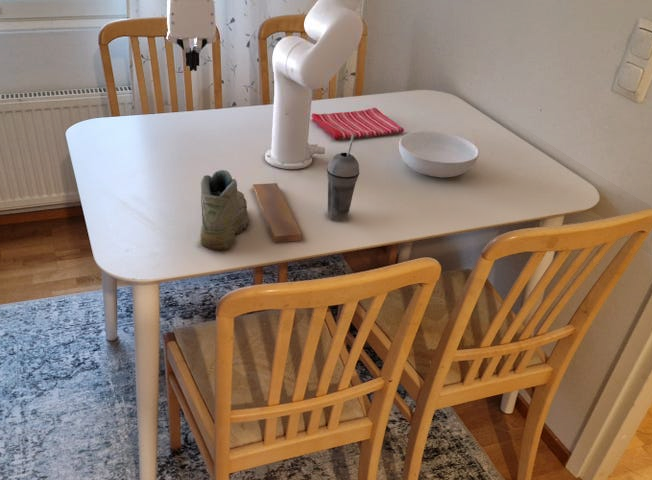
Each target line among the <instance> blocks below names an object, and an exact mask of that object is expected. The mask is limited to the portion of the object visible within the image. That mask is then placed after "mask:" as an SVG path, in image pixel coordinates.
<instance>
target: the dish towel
mask: <svg viewBox="0 0 652 480" xmlns="http://www.w3.org/2000/svg"><path fill="white" fill-rule="evenodd" d="M311 118H312V119H311V121H312V122H313V123H315V125H317V126H318V127H319V128H320V129H322V130H323V131H324V132H325V133H326V134H327V135H328V136H329V137H330V138H331V139H332V140H334V141H338V140H348V139H350V140H351V137H352V135H354V139H360V138H368V137H377V136H378V137H379V136H388V135H394V134H398V133H399V134H400V133H403V132H404V131H405V129H404V127H402V126H400V125H399V124H398V123H396V122H395V121H393V120H392V119H390V117H388V116H386V115H385V114H384V113H382V112H381V111H380V110H379V109H378V108H377V107H372V108H368V109H362V110H353V111H343V112H331V113H312V114H311Z"/></svg>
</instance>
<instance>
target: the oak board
mask: <svg viewBox="0 0 652 480" xmlns="http://www.w3.org/2000/svg"><path fill="white" fill-rule="evenodd" d="M252 193H253V195H254V197H255V200H256V202H257V205H258V207H259V210H260V212H261V214H262V216H263V218H264V221H265V224H266V226H267V228H268V231H269V233H270V235H271V238H272V240H273V242H274V243H275V244H276V243H288V242H301V241H302V240H303V239H302V238H303V233H302V232H301V230H300V227H299V225H298V224H297V223H298V222H297V221H296V219H295V217H294V215H293V213H292V211H291V209H290V206H289V205H288V203H287V202H286V199H285V197H284V195H283V193H282V191H281V189H280V186H279V185H278V183H277V182H272V183H253V184H252Z"/></svg>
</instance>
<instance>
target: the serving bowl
mask: <svg viewBox="0 0 652 480" xmlns="http://www.w3.org/2000/svg"><path fill="white" fill-rule="evenodd" d="M398 142H399V143H398V148H399V149H398V151H399V155H400V157H401V159H402V160H403V162H404V163H405V165H407V166H408V167H409V168H410V169H412V170H413V171H415V172H417V173H419V174H422V175H426V176H430V177H435V178H436V177H437V178H452V177H457V176H460V175H463V174H466V173H467V172H468V171H470V170H471V169H472V168H473V166H474V165H475V164H476V162H477V160H478V158H479V156H480V150H479V147H477V145H475V144H474V143H473V142H471V141H470V140H468V139H466V138H464V137H462V136H458V135H455V134H452V133H446V132H443V131H442V132H441V131H435V130H417V131H412V132H408V133H406V134H404V135H402V136H401V137H400V139H399V141H398Z"/></svg>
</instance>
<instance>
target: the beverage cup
mask: <svg viewBox="0 0 652 480" xmlns="http://www.w3.org/2000/svg"><path fill="white" fill-rule="evenodd" d="M354 139H355V138H354V135H352V137H351V139H350V142H349V145H348V149H347V152H339V153H336V154H335V155H334V156H332V157H331V159H330V160H329V162H328V164H327V167H326V172H327V173H326V175H327V217H328V219H329V220H331V221H333V222H345V221H346V220H348V217H349V213H350V210H351V209H350V208H351V204H352V201H353V196H354V192H355V187H356V183H358V182H357V181H358V179H359V176H360V165H359V162H358V160H357V158H356V157H355V156H354V155H352V154H351V150H352V147H353V142H354Z"/></svg>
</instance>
